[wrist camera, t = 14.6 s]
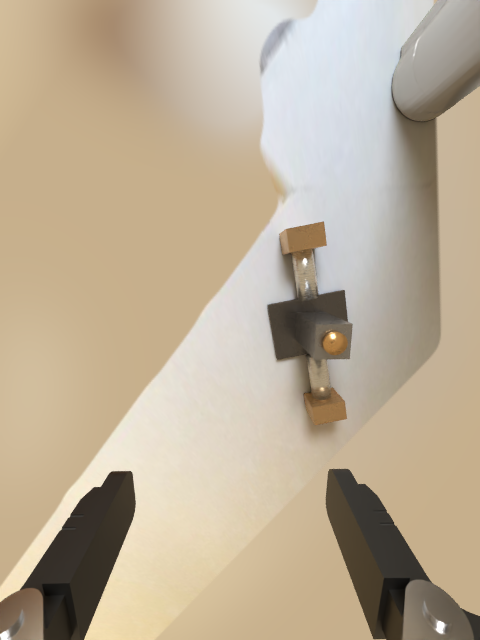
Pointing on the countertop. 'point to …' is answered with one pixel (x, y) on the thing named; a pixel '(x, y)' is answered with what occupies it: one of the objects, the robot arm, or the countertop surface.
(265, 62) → the countertop surface
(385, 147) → the countertop surface
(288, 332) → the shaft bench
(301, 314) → the gold-capped grey pillar
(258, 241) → the countertop surface
